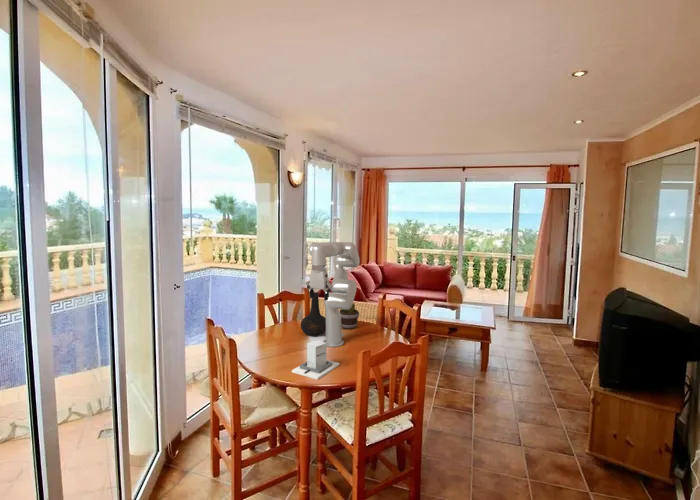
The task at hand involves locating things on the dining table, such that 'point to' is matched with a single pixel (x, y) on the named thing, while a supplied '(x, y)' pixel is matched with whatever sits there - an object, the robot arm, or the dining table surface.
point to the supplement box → (316, 354)
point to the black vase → (314, 319)
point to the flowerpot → (349, 317)
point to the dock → (315, 370)
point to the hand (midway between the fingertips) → (319, 298)
